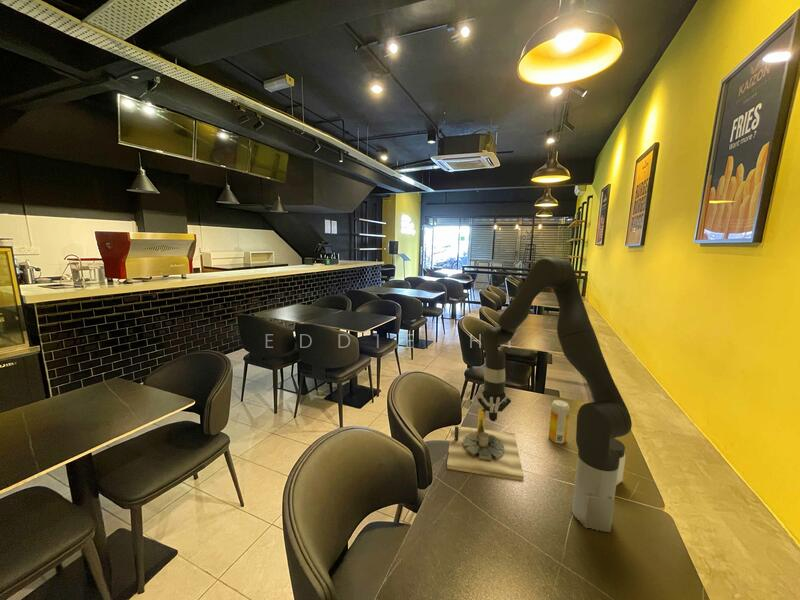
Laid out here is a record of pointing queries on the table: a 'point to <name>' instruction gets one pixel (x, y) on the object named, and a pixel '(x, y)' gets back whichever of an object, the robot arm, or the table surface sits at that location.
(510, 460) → the base
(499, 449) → the flange
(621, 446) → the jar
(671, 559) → the table surface
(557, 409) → the orange white canister
